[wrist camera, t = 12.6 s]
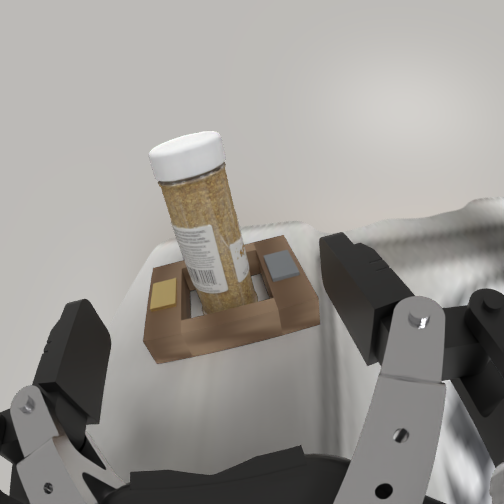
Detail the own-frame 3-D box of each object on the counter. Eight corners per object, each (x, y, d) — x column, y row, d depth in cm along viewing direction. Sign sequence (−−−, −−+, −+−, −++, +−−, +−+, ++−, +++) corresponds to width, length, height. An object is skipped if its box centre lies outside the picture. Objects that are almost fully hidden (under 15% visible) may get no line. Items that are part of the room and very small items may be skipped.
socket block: (287, 258, 29) (283, 235, 28) (320, 324, 21) (318, 298, 20) (162, 289, 28) (153, 268, 27) (157, 363, 21) (143, 341, 19)
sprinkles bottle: (270, 302, 24) (235, 128, 17) (225, 336, 22) (167, 153, 15) (233, 281, 27) (194, 129, 20) (192, 310, 25) (136, 151, 18)
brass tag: (177, 280, 25) (176, 277, 25) (176, 306, 22) (175, 303, 22) (154, 286, 25) (153, 283, 24) (151, 312, 22) (149, 309, 22)
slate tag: (287, 252, 25) (287, 249, 25) (299, 274, 22) (299, 271, 22) (264, 258, 25) (263, 255, 25) (273, 282, 22) (272, 278, 22)
